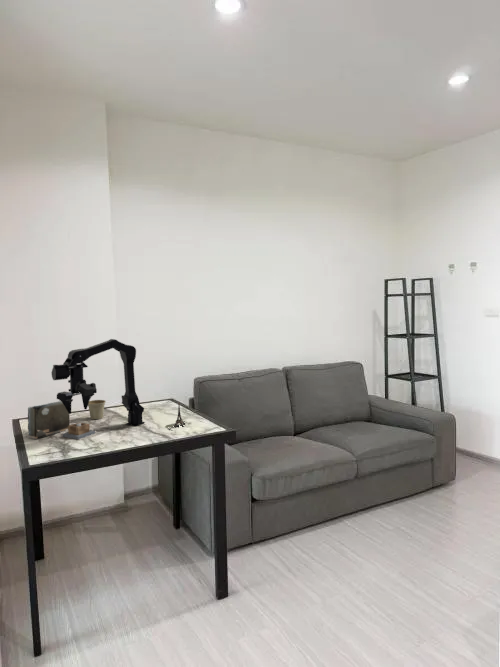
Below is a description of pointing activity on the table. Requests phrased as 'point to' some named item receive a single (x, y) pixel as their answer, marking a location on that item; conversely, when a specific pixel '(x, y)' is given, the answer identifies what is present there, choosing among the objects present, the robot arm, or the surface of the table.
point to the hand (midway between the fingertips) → (77, 411)
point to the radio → (47, 419)
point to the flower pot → (96, 408)
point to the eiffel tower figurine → (177, 420)
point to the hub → (78, 435)
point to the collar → (78, 429)
